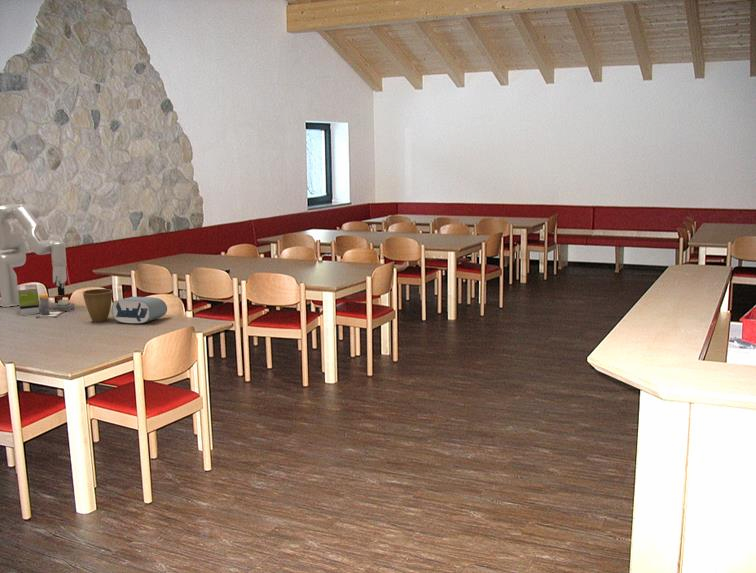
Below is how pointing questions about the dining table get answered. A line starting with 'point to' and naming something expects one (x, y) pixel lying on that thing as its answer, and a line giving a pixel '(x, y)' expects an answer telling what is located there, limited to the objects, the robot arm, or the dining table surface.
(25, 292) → the tea box
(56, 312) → the clipboard
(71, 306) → the button housing
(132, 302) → the pencil case
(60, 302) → the button
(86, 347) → the dining table surface
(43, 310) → the marker
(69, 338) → the dining table surface
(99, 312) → the plant pot
